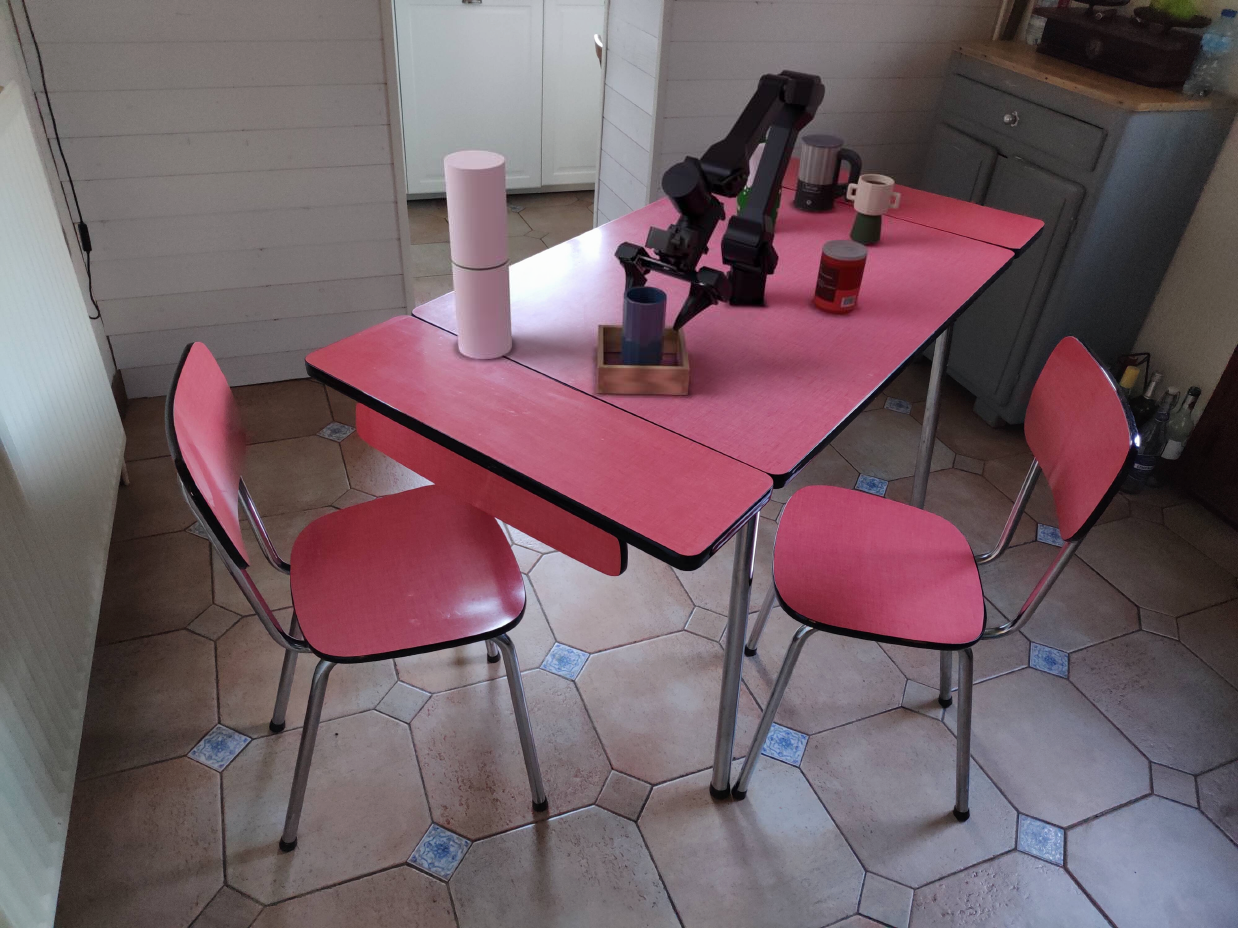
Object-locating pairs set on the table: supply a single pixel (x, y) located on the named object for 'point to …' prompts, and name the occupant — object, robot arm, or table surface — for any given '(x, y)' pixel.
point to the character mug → (871, 206)
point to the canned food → (840, 276)
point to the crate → (642, 377)
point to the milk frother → (824, 173)
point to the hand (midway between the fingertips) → (649, 321)
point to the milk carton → (745, 193)
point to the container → (479, 251)
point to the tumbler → (643, 326)
